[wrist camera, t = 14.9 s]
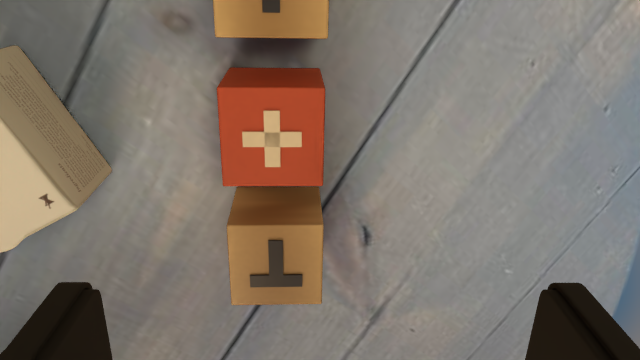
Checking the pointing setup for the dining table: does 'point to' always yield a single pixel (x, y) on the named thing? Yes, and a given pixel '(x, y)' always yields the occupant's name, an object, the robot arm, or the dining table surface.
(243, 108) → the red cross cube
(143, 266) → the dining table surface
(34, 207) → the small box
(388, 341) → the dining table surface
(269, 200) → the wooden letter t cube
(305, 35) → the line block
